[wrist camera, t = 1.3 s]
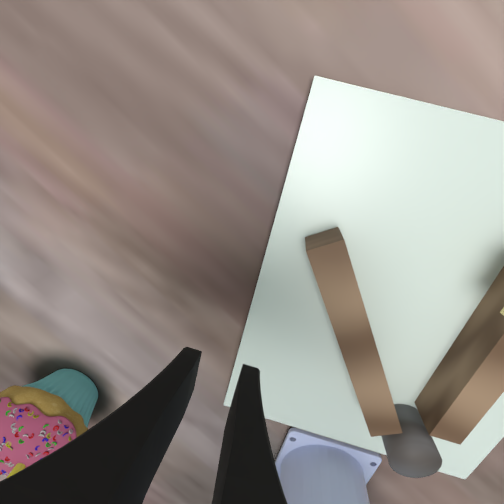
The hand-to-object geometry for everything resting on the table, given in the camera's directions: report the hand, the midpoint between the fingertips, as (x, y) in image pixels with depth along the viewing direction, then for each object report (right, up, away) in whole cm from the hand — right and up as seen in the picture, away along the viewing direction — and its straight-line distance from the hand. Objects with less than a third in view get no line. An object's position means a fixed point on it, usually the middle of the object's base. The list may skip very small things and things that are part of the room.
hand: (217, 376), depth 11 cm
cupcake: (-15, -8, +16) cm, 24 cm away
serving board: (+11, +1, +8) cm, 14 cm away
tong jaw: (+8, 0, +8) cm, 11 cm away
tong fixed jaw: (+14, -1, +7) cm, 16 cm away
